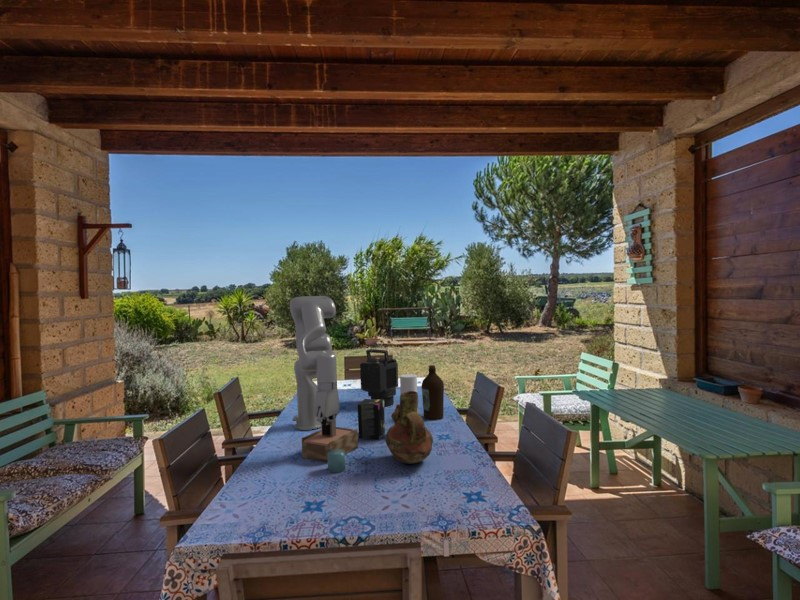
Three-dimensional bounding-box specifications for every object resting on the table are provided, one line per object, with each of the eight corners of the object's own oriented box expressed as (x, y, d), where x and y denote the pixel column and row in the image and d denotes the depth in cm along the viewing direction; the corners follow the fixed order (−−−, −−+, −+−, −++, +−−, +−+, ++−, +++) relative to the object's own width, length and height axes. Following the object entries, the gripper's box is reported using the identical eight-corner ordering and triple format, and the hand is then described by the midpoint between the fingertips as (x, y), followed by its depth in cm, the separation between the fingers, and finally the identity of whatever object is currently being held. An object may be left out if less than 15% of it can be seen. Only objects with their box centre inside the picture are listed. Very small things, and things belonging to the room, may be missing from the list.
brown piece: (329, 429, 187) (329, 413, 186) (352, 433, 181) (352, 415, 181) (303, 442, 172) (303, 424, 172) (327, 446, 167) (327, 427, 167)
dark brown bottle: (438, 413, 229) (436, 363, 228) (448, 418, 219) (447, 366, 219) (418, 416, 225) (417, 365, 224) (428, 421, 215) (427, 368, 214)
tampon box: (379, 440, 191) (378, 404, 190) (358, 439, 193) (356, 404, 192) (385, 432, 201) (384, 398, 201) (365, 431, 203) (364, 398, 203)
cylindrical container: (406, 437, 193) (404, 377, 192) (398, 433, 199) (397, 375, 199) (421, 434, 196) (419, 376, 195) (413, 430, 202) (411, 373, 202)
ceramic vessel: (415, 445, 183) (413, 382, 182) (447, 467, 159) (445, 395, 159) (374, 452, 176) (372, 387, 176) (401, 477, 152) (399, 401, 152)
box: (331, 443, 189) (330, 425, 188) (357, 447, 183) (357, 428, 182) (302, 458, 173) (301, 438, 173) (330, 463, 167) (329, 442, 167)
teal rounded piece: (324, 471, 159) (323, 454, 159) (334, 465, 165) (334, 448, 164) (338, 474, 157) (338, 456, 156) (348, 467, 162) (348, 450, 162)
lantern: (401, 402, 253) (399, 347, 252) (383, 410, 238) (381, 352, 237) (379, 399, 261) (377, 346, 260) (359, 407, 246) (357, 350, 245)
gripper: (331, 381, 185) (333, 426, 186) (305, 389, 171) (307, 438, 171) (347, 382, 182) (348, 429, 182) (322, 390, 167) (323, 441, 168)
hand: (328, 433), depth 177 cm, fingers closed on brown piece
